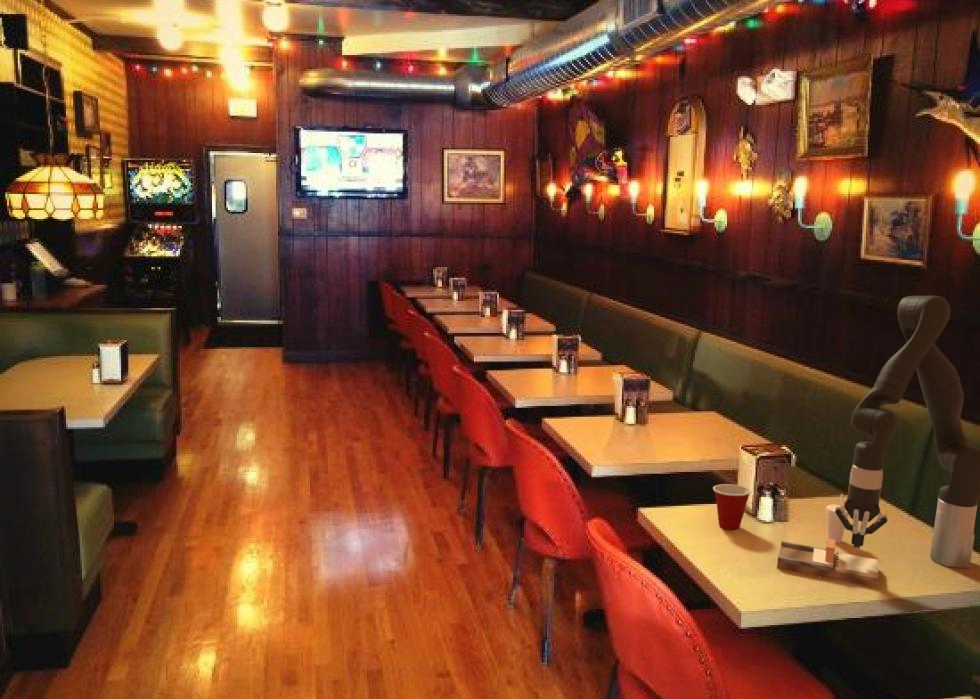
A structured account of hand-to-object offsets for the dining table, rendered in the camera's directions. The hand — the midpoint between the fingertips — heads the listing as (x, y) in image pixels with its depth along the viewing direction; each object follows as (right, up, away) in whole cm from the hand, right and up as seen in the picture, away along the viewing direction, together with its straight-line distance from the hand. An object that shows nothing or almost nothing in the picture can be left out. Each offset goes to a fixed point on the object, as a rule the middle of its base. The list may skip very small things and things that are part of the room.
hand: (856, 546), depth 214 cm
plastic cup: (-25, -1, +30) cm, 39 cm away
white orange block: (-7, -4, +4) cm, 9 cm away
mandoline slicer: (-6, -7, +4) cm, 10 cm away
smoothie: (+4, -4, +22) cm, 23 cm away
